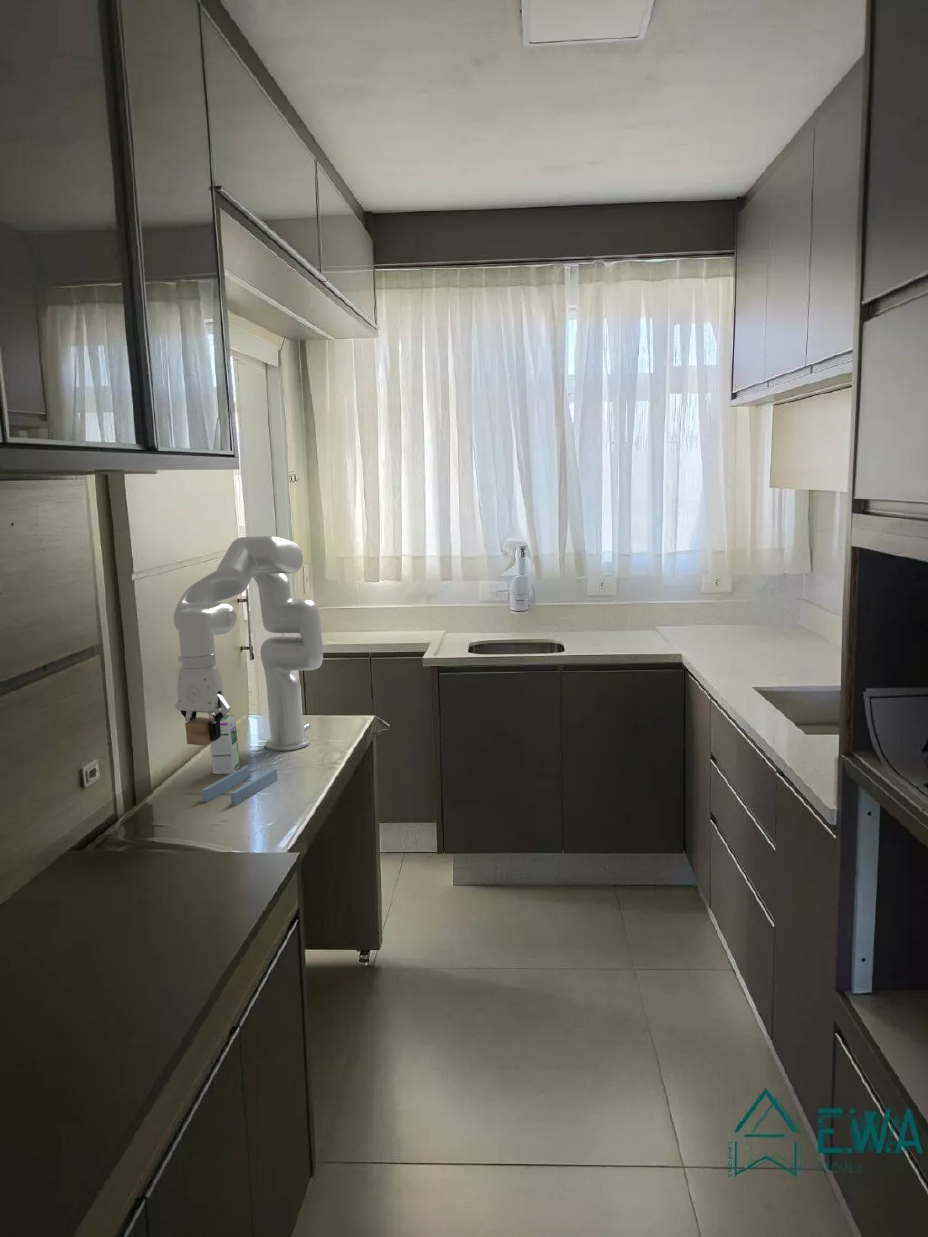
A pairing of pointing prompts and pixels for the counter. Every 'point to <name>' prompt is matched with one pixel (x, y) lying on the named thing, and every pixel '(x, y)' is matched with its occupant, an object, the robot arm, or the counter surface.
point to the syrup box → (226, 748)
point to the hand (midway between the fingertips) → (205, 737)
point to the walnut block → (198, 731)
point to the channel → (235, 779)
